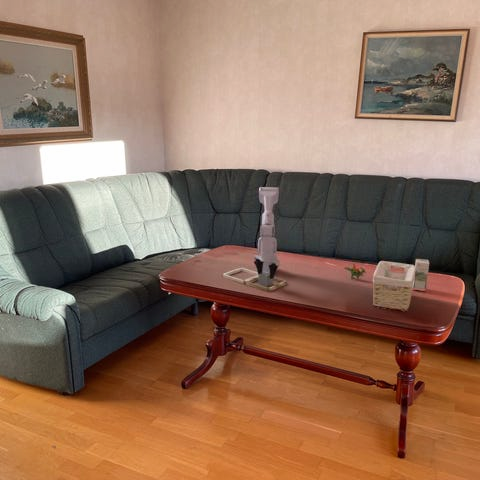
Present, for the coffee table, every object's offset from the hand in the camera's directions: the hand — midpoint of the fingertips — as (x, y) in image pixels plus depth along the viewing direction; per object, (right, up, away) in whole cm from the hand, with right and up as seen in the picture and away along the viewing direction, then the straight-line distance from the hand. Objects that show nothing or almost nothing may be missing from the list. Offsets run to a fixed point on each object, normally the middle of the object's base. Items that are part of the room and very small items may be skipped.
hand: (266, 276), depth 220 cm
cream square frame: (-11, -1, +10) cm, 15 cm away
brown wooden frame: (0, -4, +1) cm, 4 cm away
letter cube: (0, -4, +1) cm, 4 cm away
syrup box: (+73, -6, -3) cm, 73 cm away
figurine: (+45, -2, +10) cm, 46 cm away
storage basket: (+55, -10, -17) cm, 58 cm away
